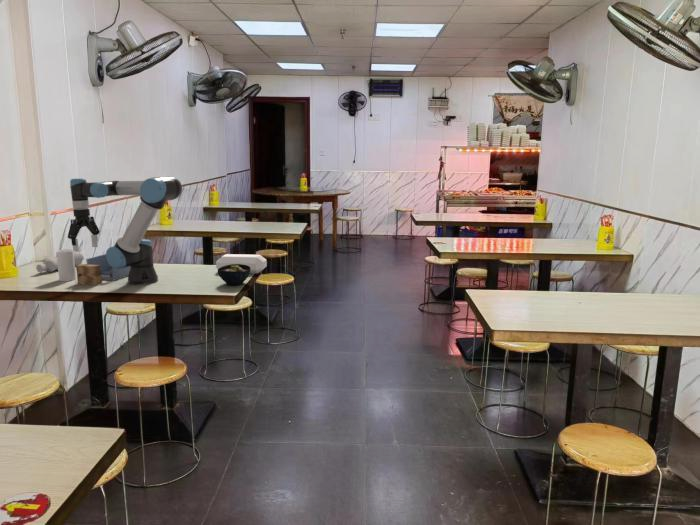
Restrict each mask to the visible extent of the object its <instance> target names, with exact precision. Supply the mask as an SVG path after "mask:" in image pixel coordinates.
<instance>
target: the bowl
mask: <svg viewBox="0 0 700 525" xmlns="http://www.w3.org/2000/svg"><path fill="white" fill-rule="evenodd" d="M250 269H251V268H250V267H249V266H247V265H242V264H232V265H226V266H223V267H221V268H219V269H217V275H218V277H219V278H220V279H221V280H222V281H223V282H224V283H225V284H226V286H231V287H234V286H235V287H237V286H241V285H244V282H245V281H246V280H247V278H248V277H249V276H250V274H251V273H250Z"/></svg>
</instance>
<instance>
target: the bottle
mask: <svg viewBox="0 0 700 525" xmlns="http://www.w3.org/2000/svg"><path fill="white" fill-rule="evenodd" d="M73 252H74V262H75V267H76V265H79V264H83V260H84V259H85V257H84V254H83V253H81V252H80V250H79V251H78V252H75V251H73ZM35 268H36V271H37V272H38V273H42V272H49V273H53V272H55V271H58V263H57V256H54V257H53V258H46V259H45V260H44V261H43V263H41V264H36V266H35Z"/></svg>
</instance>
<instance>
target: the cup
mask: <svg viewBox="0 0 700 525" xmlns="http://www.w3.org/2000/svg"><path fill="white" fill-rule="evenodd" d="M55 254H56V257H57V263H58V270H57V271H58V280H59V281H60V282H70V281H75V280H77V271H76V266H75V262H74V252H73V249H71V248H70V249H66V248H65V249H59V250H56V252H55Z"/></svg>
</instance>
